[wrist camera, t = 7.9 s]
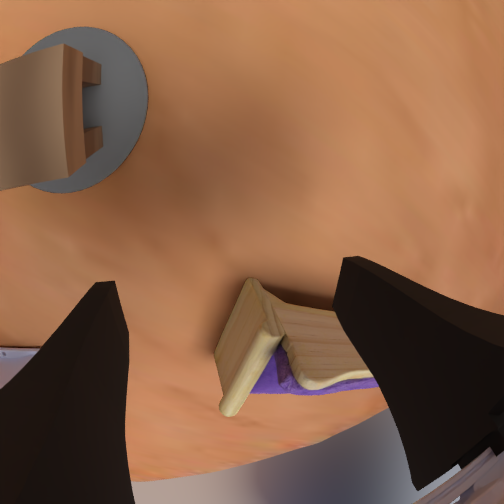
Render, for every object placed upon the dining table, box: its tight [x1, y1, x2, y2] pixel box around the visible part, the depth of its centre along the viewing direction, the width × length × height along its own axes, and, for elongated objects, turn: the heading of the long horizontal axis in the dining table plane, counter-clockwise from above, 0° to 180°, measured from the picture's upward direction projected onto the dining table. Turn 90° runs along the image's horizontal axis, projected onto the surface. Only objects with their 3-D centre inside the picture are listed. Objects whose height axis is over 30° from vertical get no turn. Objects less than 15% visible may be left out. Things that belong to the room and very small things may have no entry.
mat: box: [23, 27, 148, 193], centre depth 13 cm, size 10×10×1 cm
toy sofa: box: [214, 278, 379, 417], centre depth 23 cm, size 21×9×10 cm, turn 68°
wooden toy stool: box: [0, 44, 103, 191], centre depth 10 cm, size 5×5×6 cm
